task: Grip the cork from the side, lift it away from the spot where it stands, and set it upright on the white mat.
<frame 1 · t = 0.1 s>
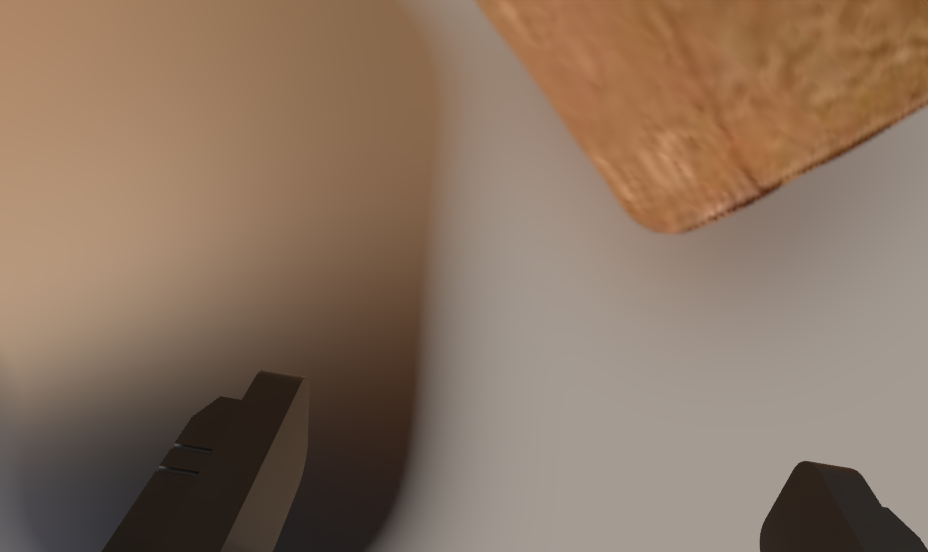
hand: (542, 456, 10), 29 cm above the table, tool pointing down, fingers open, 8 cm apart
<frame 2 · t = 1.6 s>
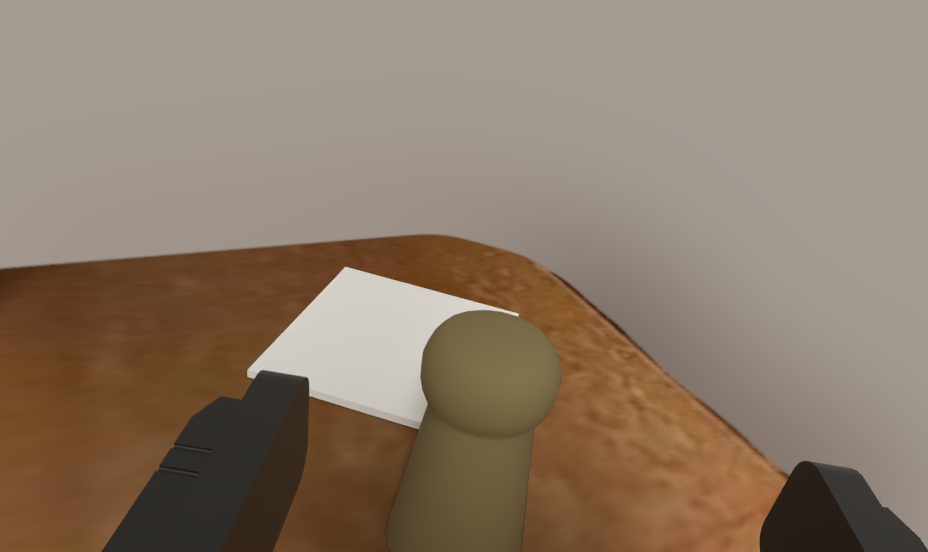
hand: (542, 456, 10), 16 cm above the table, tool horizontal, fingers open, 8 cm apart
white mat: (398, 345, 39), on the table
cork: (453, 537, 28), on the table
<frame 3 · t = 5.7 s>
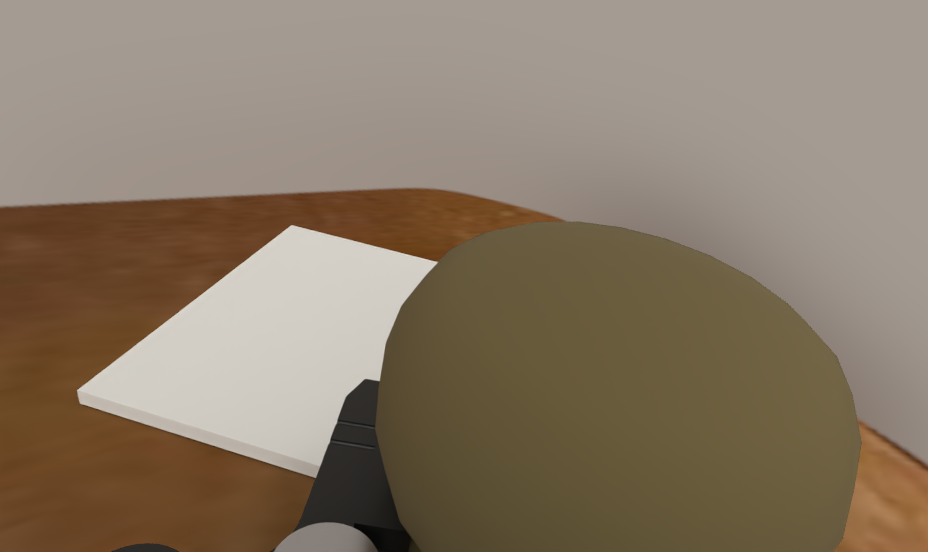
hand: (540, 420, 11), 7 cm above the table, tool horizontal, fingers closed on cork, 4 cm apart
white mat: (368, 343, 23), on the table
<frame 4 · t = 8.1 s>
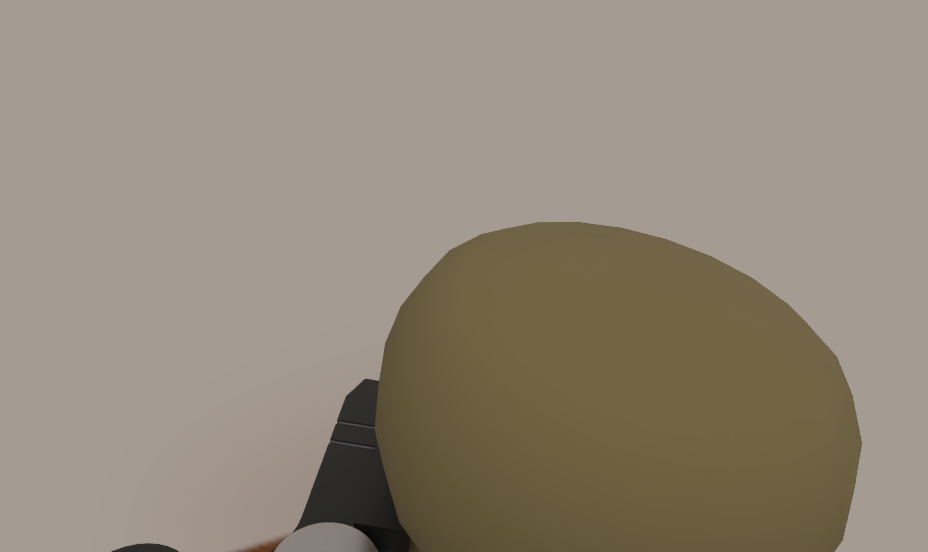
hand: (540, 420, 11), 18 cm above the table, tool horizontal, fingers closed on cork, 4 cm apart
when the fingers open (8 cm above the table, at t = 10.3 s): cork moves 2 cm, resting on white mat.
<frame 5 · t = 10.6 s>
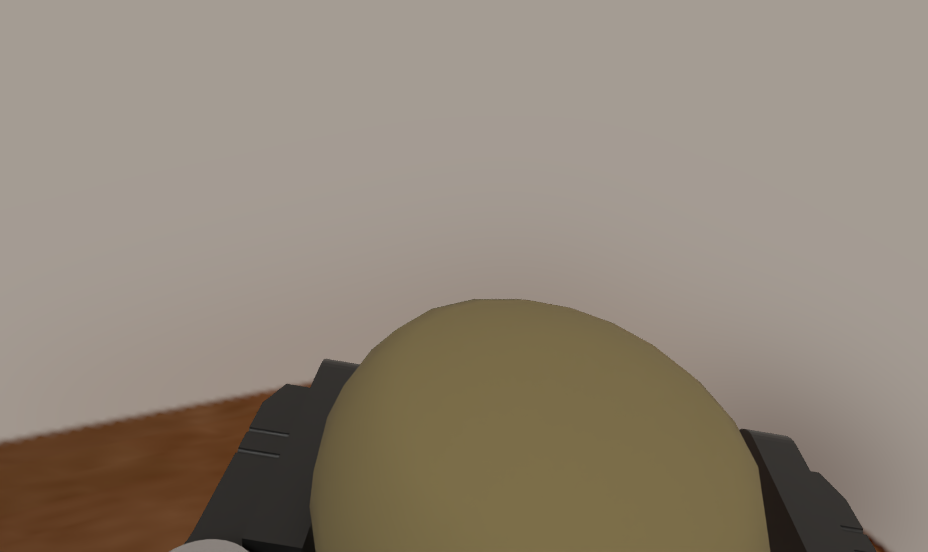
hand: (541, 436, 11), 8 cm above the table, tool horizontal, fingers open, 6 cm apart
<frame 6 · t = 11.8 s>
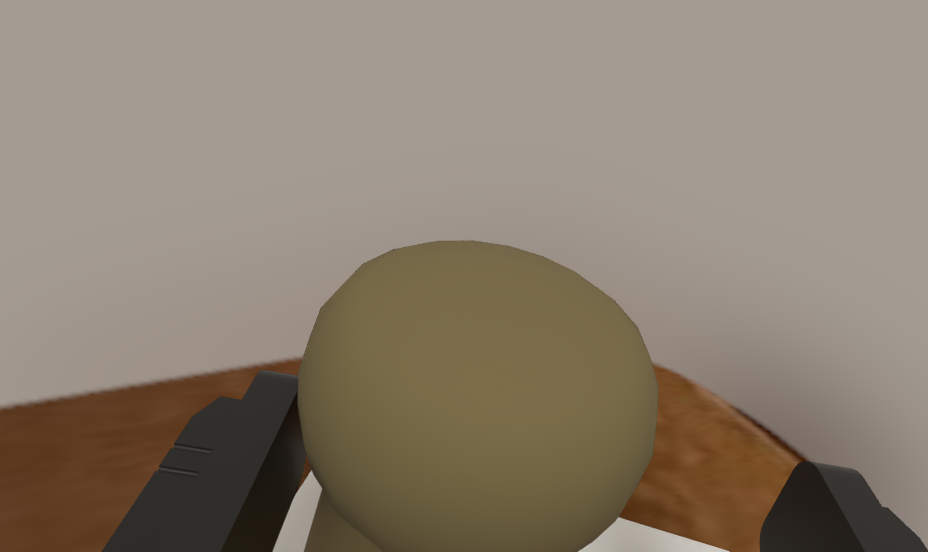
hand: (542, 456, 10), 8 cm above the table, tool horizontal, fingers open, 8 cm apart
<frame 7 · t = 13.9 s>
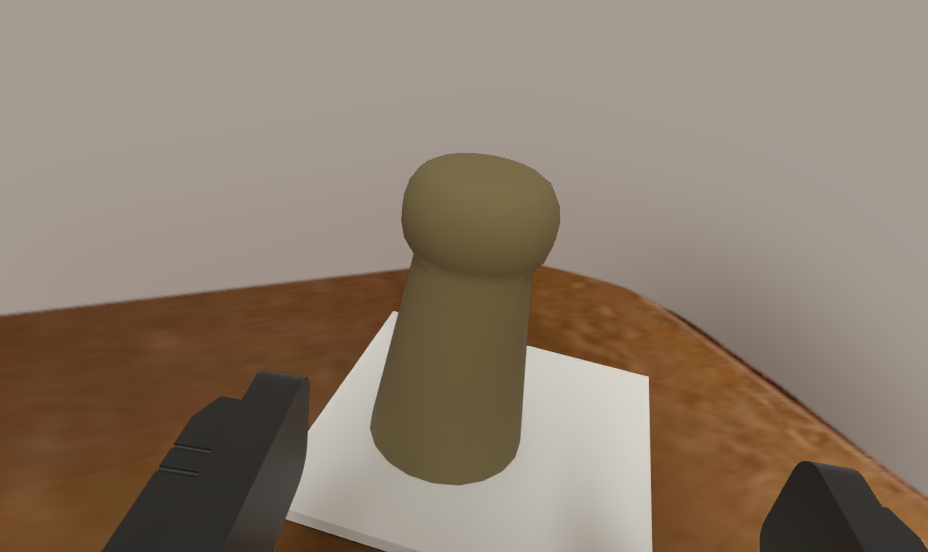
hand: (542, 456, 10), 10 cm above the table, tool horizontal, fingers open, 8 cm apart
white mat: (487, 436, 26), on the table
cork: (445, 430, 25), resting on white mat
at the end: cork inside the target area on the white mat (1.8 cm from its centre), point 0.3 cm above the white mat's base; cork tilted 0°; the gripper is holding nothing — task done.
